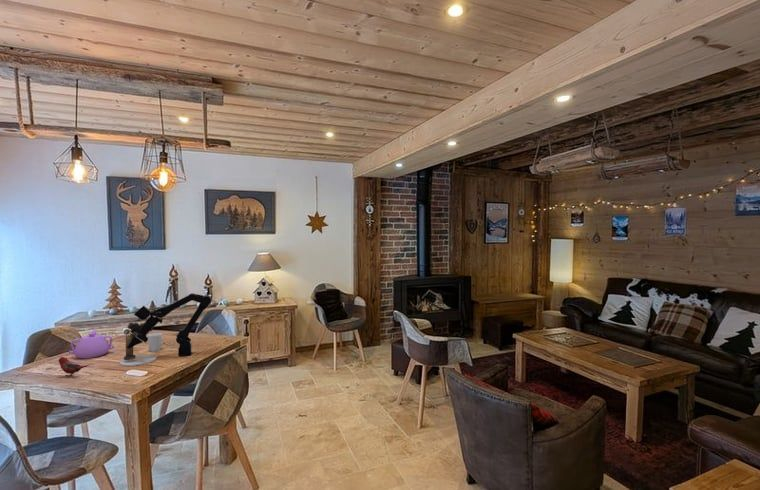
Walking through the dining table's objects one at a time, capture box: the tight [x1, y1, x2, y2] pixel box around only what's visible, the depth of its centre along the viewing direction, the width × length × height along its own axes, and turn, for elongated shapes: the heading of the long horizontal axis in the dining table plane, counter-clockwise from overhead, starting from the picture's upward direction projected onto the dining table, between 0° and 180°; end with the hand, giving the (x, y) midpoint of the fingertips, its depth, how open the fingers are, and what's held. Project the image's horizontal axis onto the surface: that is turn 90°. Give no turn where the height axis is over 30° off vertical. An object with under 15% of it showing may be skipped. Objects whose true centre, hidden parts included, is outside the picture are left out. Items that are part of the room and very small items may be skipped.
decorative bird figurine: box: [57, 356, 90, 377], centre depth 190 cm, size 3×18×10 cm, turn 84°
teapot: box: [68, 328, 115, 359], centre depth 226 cm, size 22×22×14 cm
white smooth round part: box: [119, 354, 157, 367], centre depth 214 cm, size 18×18×1 cm
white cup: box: [147, 332, 163, 352], centre depth 236 cm, size 8×8×10 cm
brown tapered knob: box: [123, 335, 136, 360], centre depth 211 cm, size 6×6×13 cm
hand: (126, 347), depth 210 cm, fingers closed on brown tapered knob, 4 cm apart
